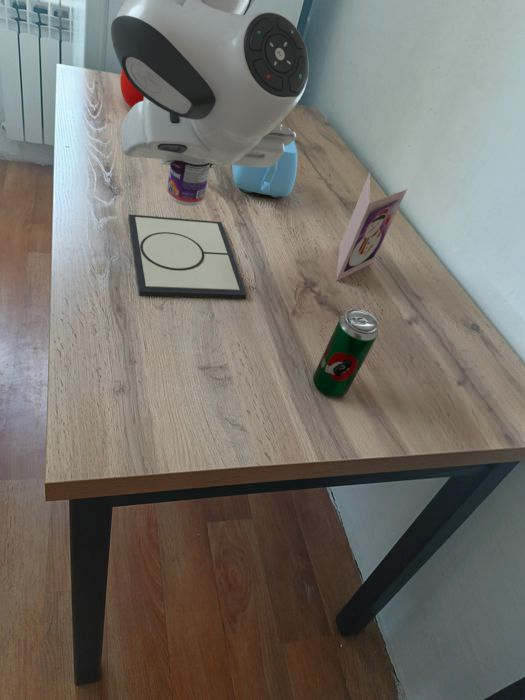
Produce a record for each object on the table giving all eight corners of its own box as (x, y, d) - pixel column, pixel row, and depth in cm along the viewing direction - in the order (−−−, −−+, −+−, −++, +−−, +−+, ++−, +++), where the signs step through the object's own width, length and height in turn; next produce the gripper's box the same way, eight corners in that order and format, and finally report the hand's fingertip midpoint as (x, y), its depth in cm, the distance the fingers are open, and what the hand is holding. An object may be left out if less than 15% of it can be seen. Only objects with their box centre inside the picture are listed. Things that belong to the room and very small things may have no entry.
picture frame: (139, 295, 77) (139, 289, 76) (128, 218, 90) (128, 212, 89) (245, 299, 82) (247, 293, 81) (220, 225, 95) (221, 220, 94)
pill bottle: (162, 186, 79) (171, 120, 72) (197, 188, 81) (209, 124, 74) (171, 206, 75) (180, 139, 69) (207, 207, 77) (220, 142, 71)
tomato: (169, 121, 121) (175, 71, 114) (121, 115, 117) (124, 62, 110) (162, 102, 128) (167, 53, 121) (116, 95, 124) (119, 45, 117)
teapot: (282, 167, 119) (297, 116, 111) (292, 210, 106) (310, 155, 98) (227, 156, 116) (238, 102, 108) (231, 198, 103) (244, 141, 95)
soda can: (353, 397, 73) (389, 333, 65) (321, 402, 70) (354, 336, 62) (336, 370, 76) (368, 305, 68) (305, 374, 74) (334, 307, 65)
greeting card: (340, 283, 91) (374, 205, 81) (308, 260, 94) (337, 182, 84) (376, 265, 99) (411, 191, 89) (345, 243, 102) (376, 170, 92)
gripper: (300, 105, 66) (257, 144, 79) (131, 83, 58) (113, 130, 71) (303, 157, 66) (259, 188, 79) (135, 142, 58) (116, 179, 71)
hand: (189, 161), depth 75 cm, fingers closed on pill bottle, 5 cm apart
